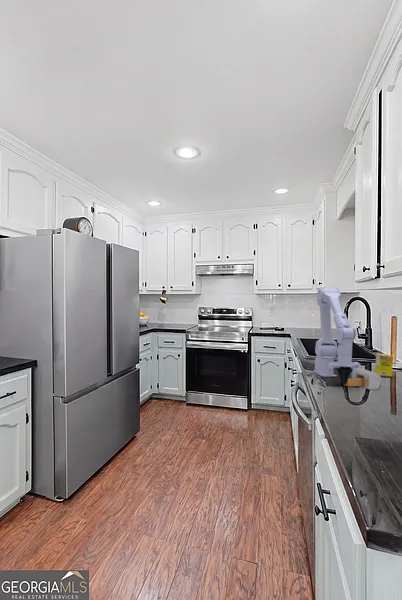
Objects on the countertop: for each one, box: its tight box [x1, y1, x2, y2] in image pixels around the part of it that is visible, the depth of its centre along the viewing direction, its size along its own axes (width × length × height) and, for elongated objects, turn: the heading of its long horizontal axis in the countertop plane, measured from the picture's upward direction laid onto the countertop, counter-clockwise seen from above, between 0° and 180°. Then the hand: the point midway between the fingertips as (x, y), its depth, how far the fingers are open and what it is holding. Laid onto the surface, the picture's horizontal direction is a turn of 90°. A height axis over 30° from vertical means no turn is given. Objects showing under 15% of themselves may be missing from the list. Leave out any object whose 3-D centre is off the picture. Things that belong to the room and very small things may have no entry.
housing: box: [351, 367, 381, 390], centre depth 141 cm, size 12×5×6 cm, turn 10°
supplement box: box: [374, 353, 394, 379], centre depth 158 cm, size 6×6×11 cm
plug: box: [343, 377, 382, 387], centre depth 141 cm, size 4×17×4 cm, turn 101°
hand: (343, 383), depth 139 cm, fingers closed
